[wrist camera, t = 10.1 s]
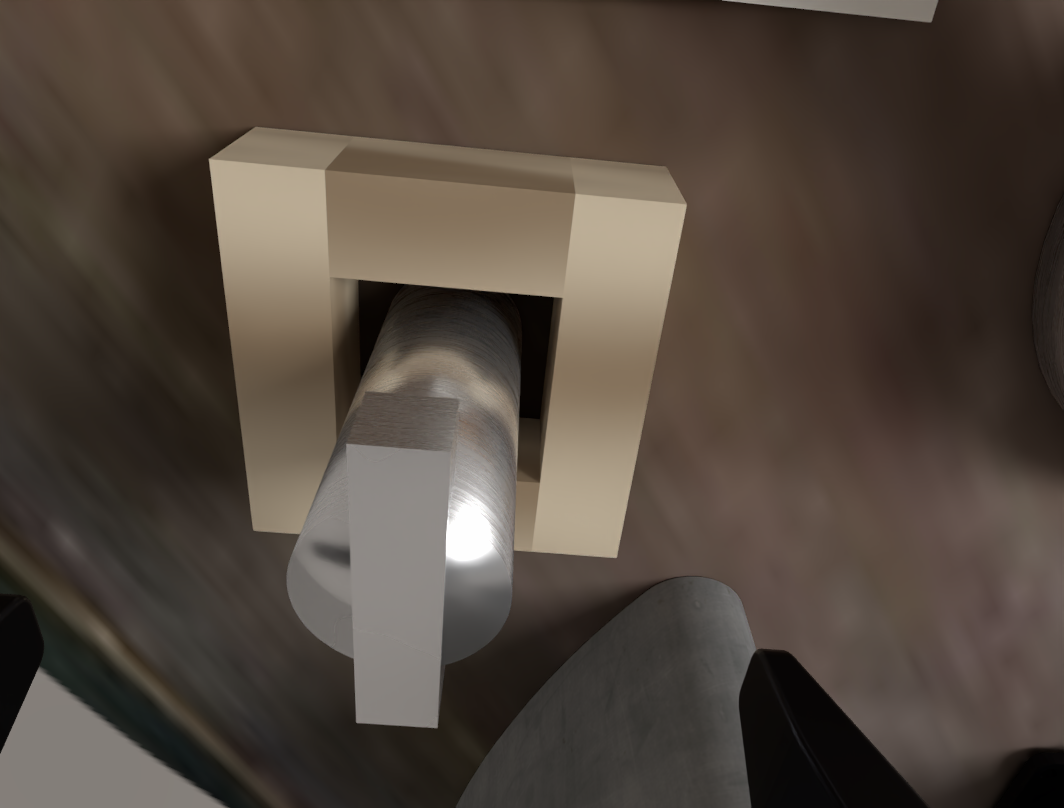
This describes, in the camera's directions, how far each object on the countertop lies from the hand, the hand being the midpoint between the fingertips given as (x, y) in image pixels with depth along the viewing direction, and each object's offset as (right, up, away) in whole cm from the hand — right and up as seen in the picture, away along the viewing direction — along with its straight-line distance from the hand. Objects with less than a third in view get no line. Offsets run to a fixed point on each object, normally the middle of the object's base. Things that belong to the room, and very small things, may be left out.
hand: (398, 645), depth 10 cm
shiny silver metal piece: (0, +5, +7) cm, 9 cm away
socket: (0, +5, +7) cm, 9 cm away
